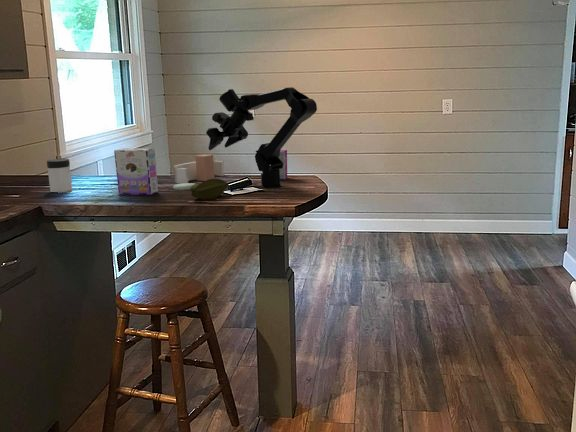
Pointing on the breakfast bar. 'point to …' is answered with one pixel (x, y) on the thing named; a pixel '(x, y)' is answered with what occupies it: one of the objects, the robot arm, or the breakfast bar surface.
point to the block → (204, 167)
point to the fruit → (208, 189)
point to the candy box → (136, 171)
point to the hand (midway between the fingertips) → (217, 148)
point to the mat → (183, 186)
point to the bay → (194, 171)
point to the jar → (59, 175)
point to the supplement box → (284, 159)
